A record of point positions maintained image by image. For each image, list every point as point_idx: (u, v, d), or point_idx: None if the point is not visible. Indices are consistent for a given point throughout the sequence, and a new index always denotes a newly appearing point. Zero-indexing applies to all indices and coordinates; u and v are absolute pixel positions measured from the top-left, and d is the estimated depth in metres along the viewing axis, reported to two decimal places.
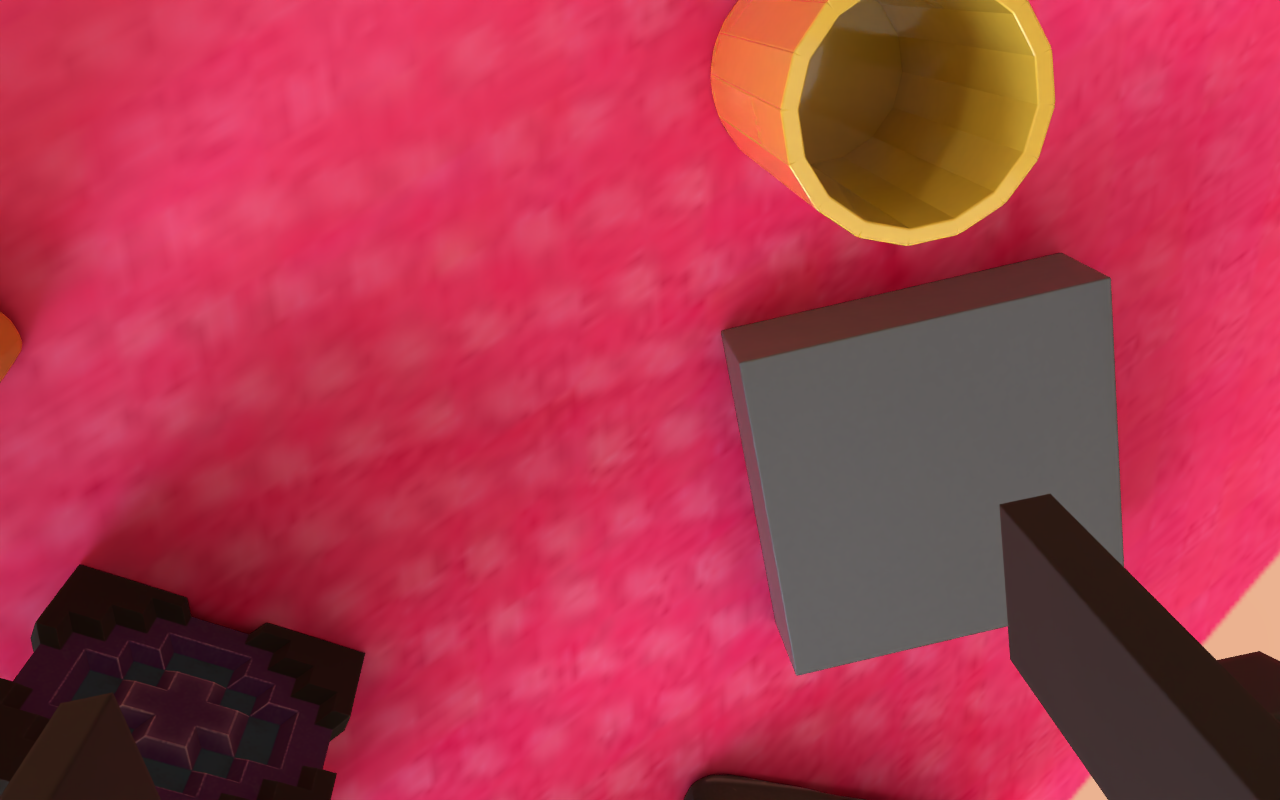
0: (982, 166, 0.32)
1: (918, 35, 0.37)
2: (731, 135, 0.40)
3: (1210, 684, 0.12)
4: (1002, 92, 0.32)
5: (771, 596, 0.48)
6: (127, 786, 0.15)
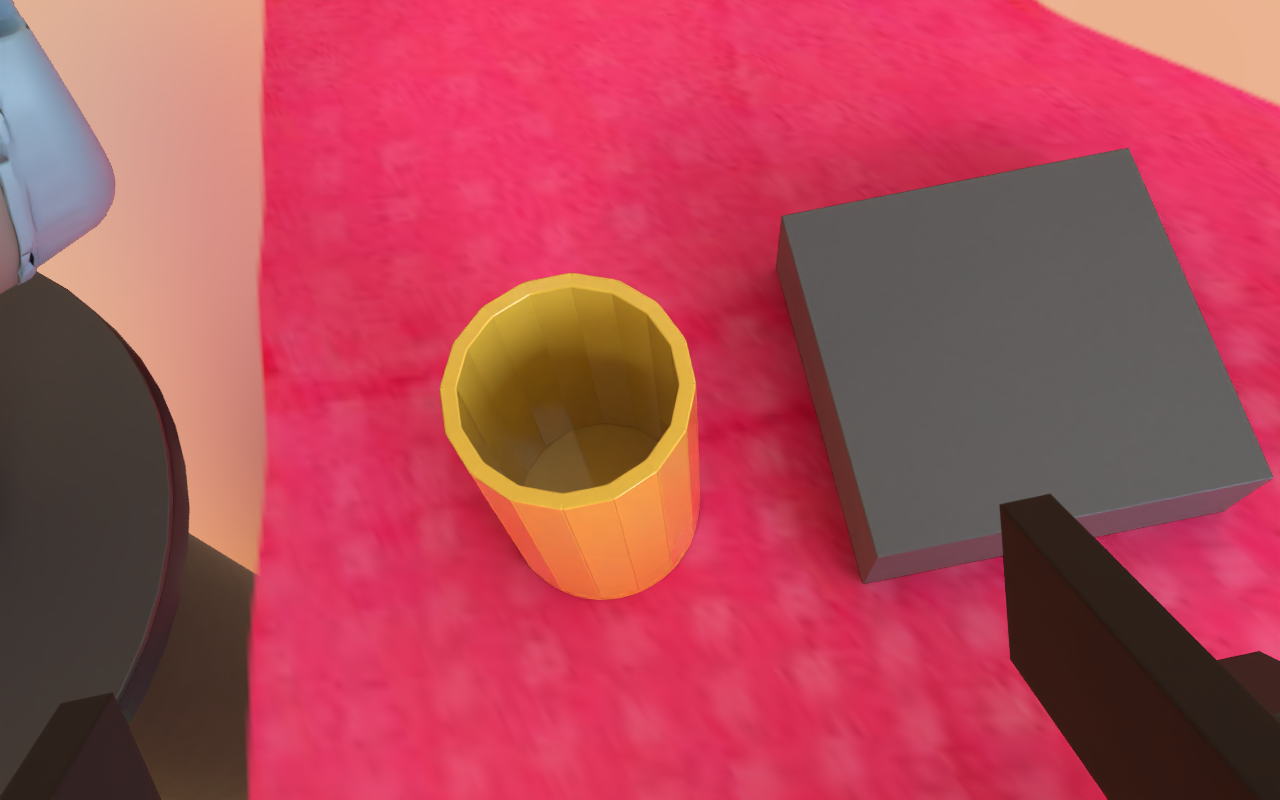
0: (635, 329, 0.34)
1: (562, 408, 0.41)
2: (656, 576, 0.41)
3: (1210, 684, 0.12)
4: (577, 321, 0.35)
5: (1185, 517, 0.41)
6: (127, 786, 0.15)
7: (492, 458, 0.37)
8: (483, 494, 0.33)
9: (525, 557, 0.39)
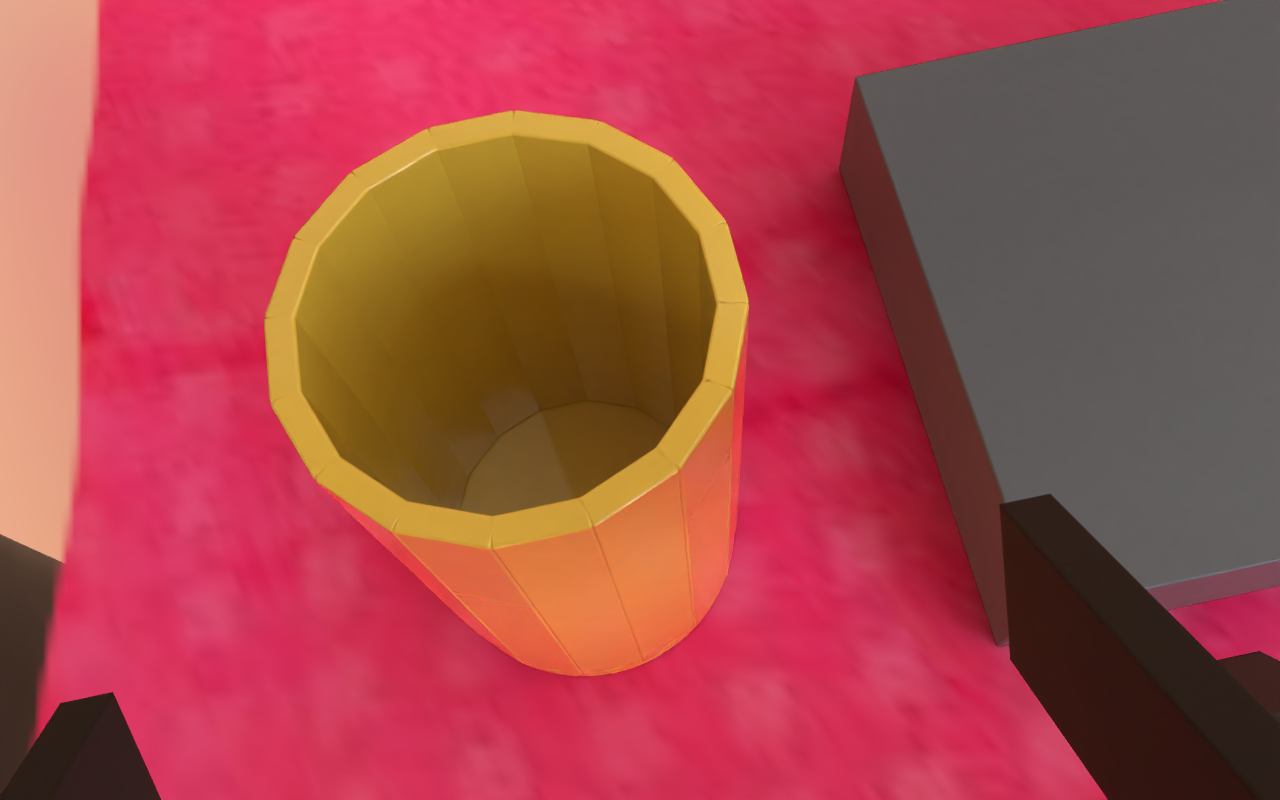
0: (633, 218, 0.19)
1: (519, 375, 0.26)
2: (671, 640, 0.26)
3: (1210, 684, 0.12)
4: (530, 212, 0.20)
5: None
6: (127, 786, 0.15)
7: (393, 453, 0.22)
8: None
9: (458, 615, 0.24)
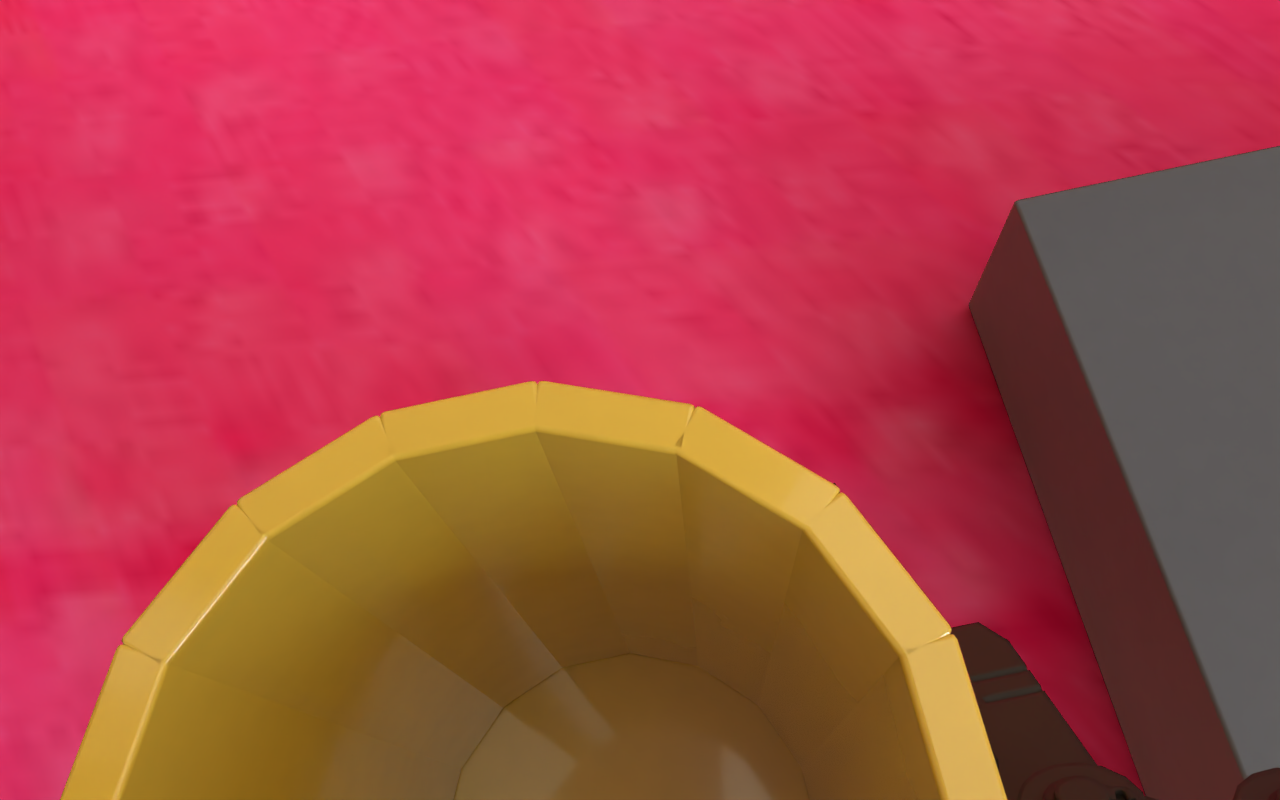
0: (746, 548, 0.11)
1: (535, 649, 0.18)
2: None
3: None
4: (562, 507, 0.12)
5: None
6: None
7: None
8: None
9: None
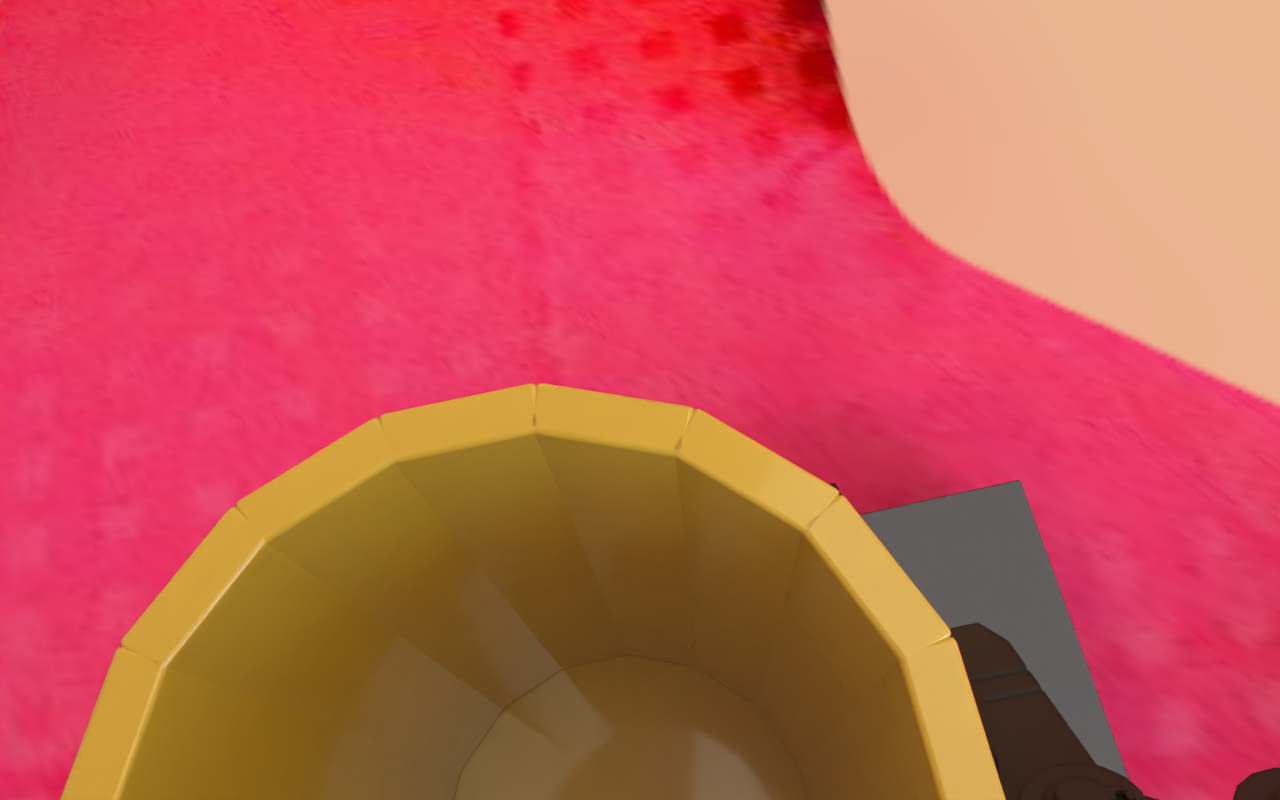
0: (745, 550, 0.11)
1: (534, 650, 0.18)
2: None
3: None
4: (561, 509, 0.12)
5: None
6: None
7: None
8: None
9: None
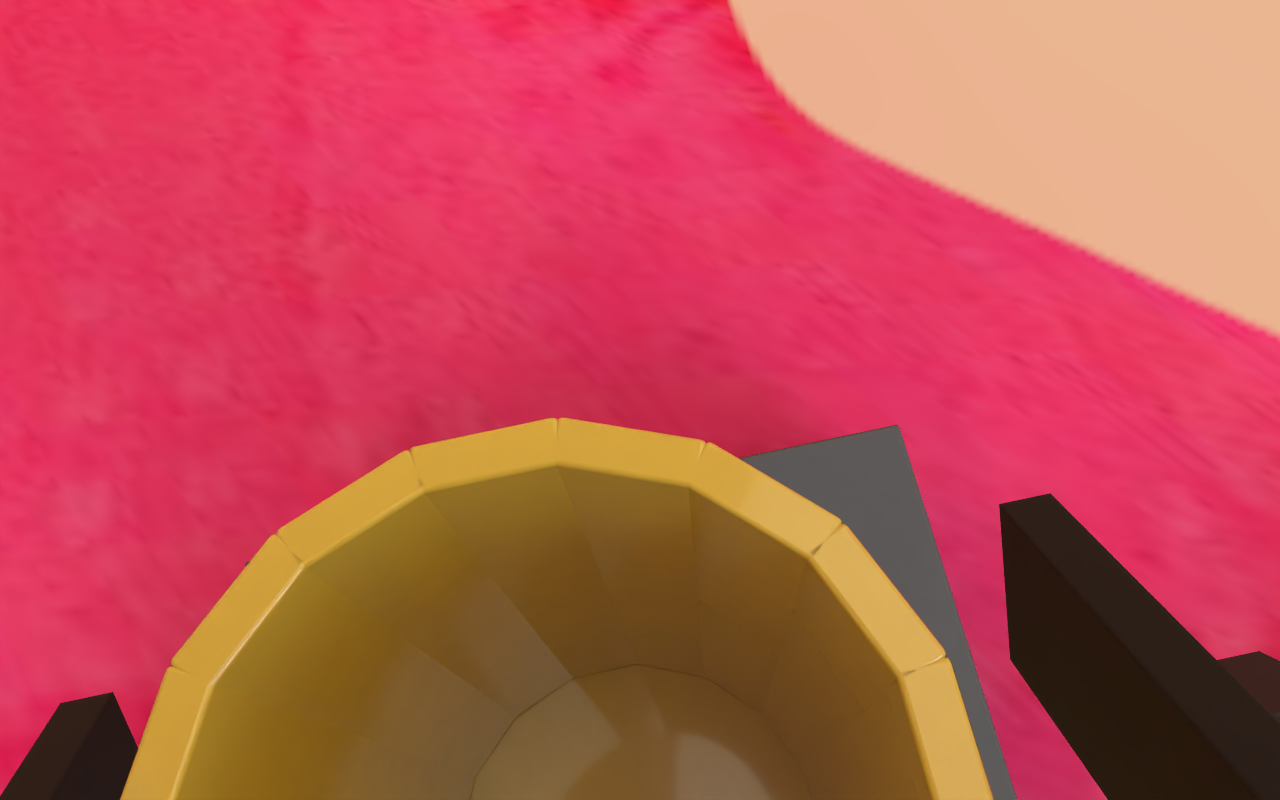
0: (753, 572, 0.11)
1: (547, 661, 0.18)
2: None
3: (1210, 684, 0.12)
4: (578, 531, 0.13)
5: None
6: None
7: None
8: None
9: None
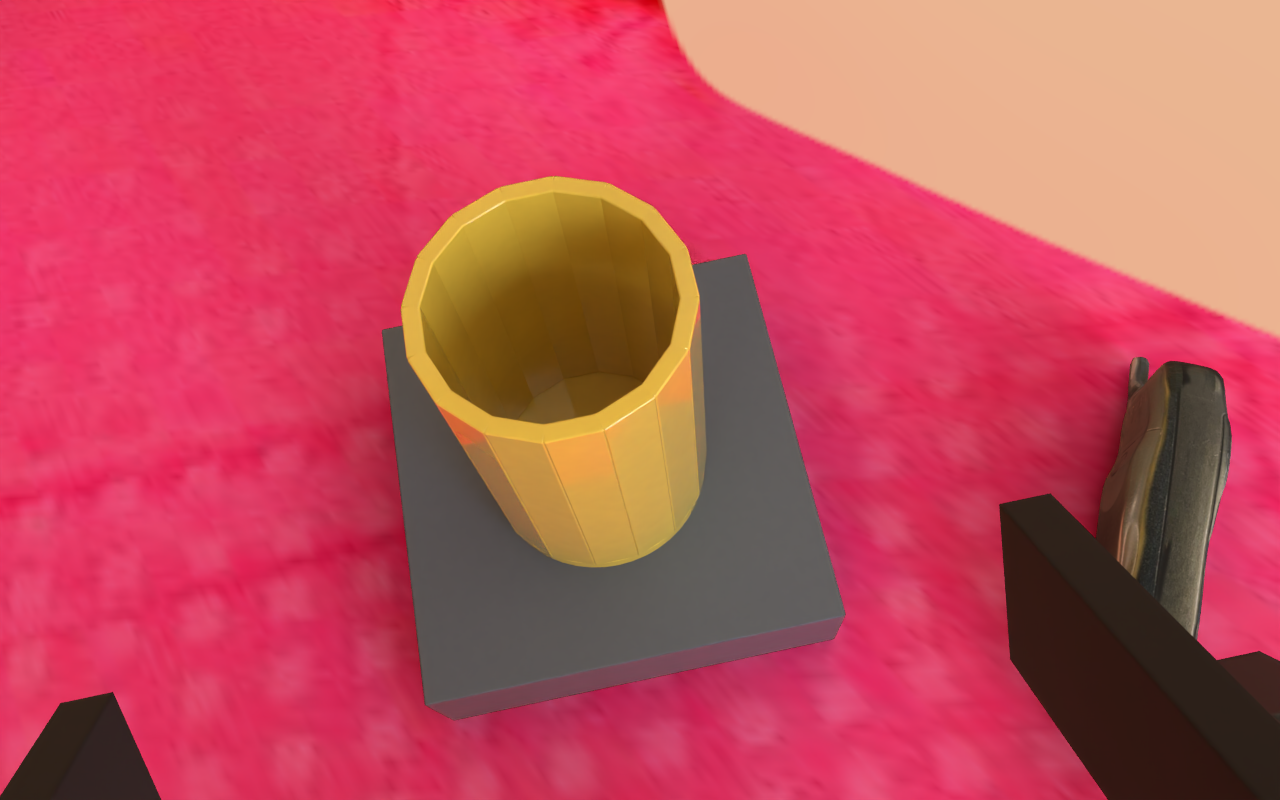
0: (629, 243, 0.30)
1: (550, 352, 0.37)
2: (658, 540, 0.36)
3: (1210, 684, 0.12)
4: (562, 239, 0.31)
5: (789, 646, 0.39)
6: (127, 786, 0.15)
7: (468, 401, 0.32)
8: (454, 433, 0.28)
9: (509, 517, 0.35)
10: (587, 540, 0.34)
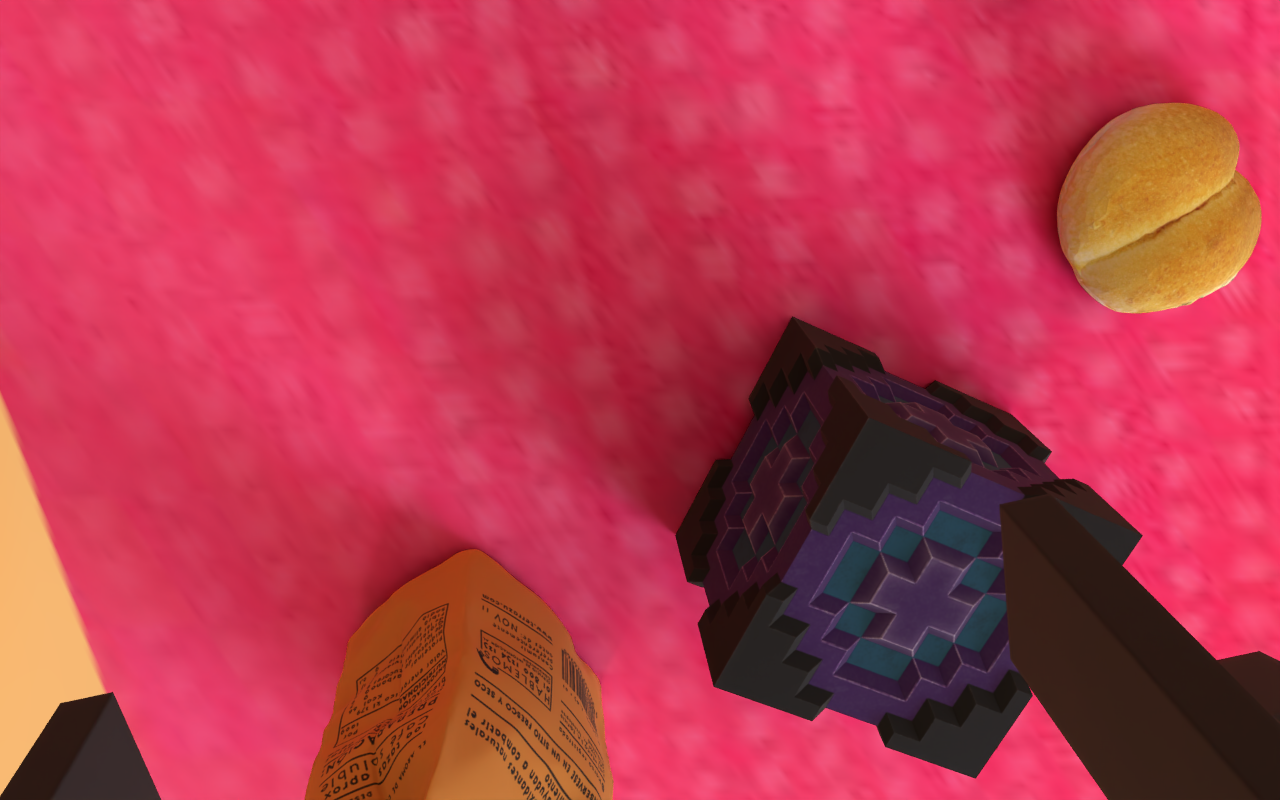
0: None
1: None
2: None
3: (1210, 684, 0.12)
4: None
5: None
6: (127, 786, 0.15)
7: None
8: None
9: None
10: None
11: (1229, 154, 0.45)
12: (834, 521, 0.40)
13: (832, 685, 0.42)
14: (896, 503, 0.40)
